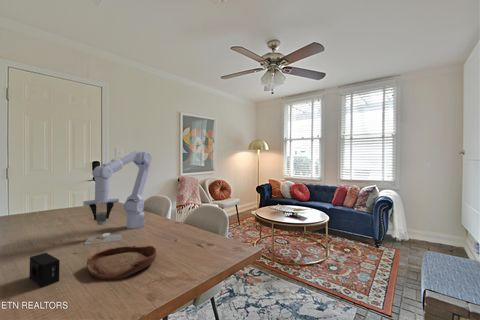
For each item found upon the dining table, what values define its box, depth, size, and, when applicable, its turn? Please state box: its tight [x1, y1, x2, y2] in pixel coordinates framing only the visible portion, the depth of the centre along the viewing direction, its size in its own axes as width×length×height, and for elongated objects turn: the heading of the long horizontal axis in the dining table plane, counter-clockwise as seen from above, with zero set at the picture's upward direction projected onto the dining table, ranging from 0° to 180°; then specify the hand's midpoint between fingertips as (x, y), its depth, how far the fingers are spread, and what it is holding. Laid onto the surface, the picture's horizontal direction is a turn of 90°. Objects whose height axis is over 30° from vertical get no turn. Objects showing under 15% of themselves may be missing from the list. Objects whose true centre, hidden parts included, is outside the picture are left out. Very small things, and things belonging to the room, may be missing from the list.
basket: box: [86, 245, 157, 281], centre depth 81 cm, size 22×20×5 cm
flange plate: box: [84, 233, 123, 245], centre depth 104 cm, size 14×8×2 cm, turn 114°
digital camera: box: [28, 252, 61, 289], centre depth 71 cm, size 10×5×7 cm, turn 60°
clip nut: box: [95, 211, 107, 226], centre depth 107 cm, size 4×4×5 cm
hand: (101, 219), depth 107 cm, fingers closed on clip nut, 4 cm apart
